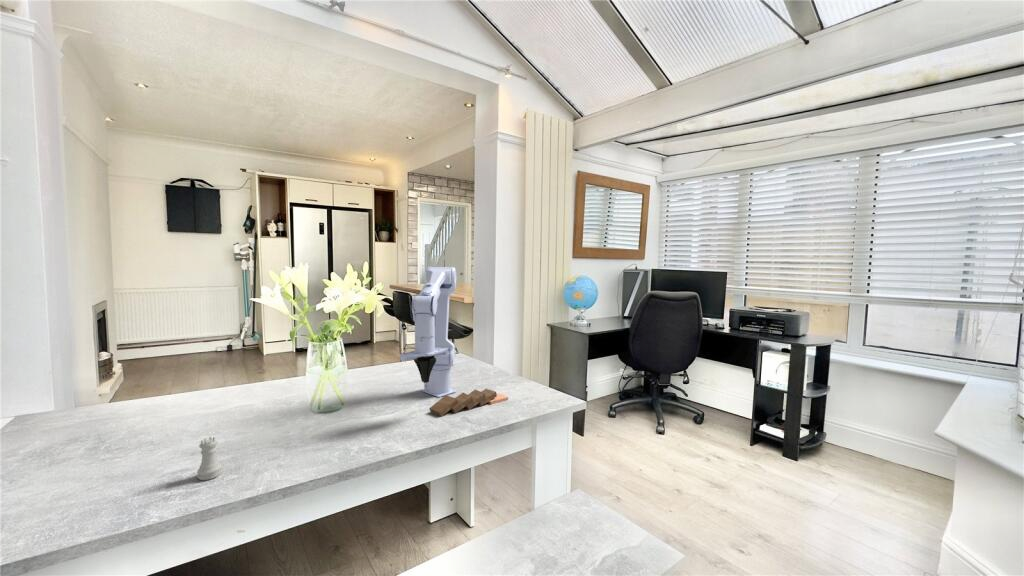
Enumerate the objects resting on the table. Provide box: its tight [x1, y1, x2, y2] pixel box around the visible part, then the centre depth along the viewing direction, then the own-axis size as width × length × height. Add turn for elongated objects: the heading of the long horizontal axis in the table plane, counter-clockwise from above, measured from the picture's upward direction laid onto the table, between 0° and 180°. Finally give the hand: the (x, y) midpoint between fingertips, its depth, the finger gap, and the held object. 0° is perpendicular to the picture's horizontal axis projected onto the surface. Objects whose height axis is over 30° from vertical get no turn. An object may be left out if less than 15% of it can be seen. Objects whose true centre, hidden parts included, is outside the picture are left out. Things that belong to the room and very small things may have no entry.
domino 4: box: [476, 388, 498, 407], centre depth 134 cm, size 2×5×7 cm
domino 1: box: [428, 395, 458, 418], centre depth 125 cm, size 2×5×7 cm
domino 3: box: [463, 389, 486, 411], centre depth 130 cm, size 2×5×7 cm
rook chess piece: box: [196, 436, 223, 481], centre depth 87 cm, size 4×4×8 cm
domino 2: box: [449, 392, 473, 414], centre depth 128 cm, size 2×5×7 cm
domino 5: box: [486, 392, 509, 405], centre depth 136 cm, size 2×5×7 cm
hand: (425, 381), depth 121 cm, fingers closed
